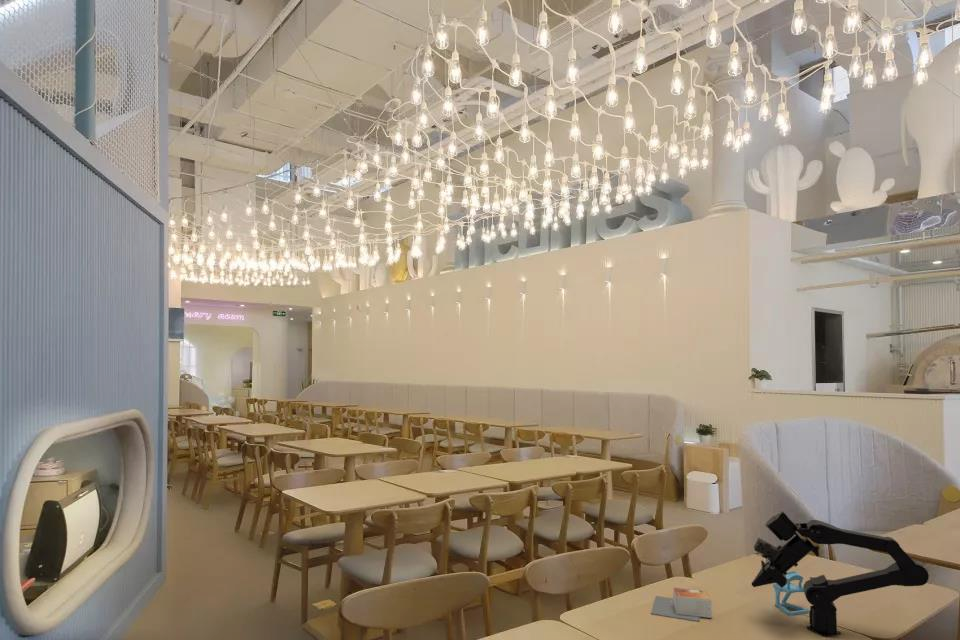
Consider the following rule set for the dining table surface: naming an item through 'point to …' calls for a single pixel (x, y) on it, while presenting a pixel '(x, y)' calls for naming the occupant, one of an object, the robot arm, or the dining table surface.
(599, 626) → the dining table surface
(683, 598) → the small box
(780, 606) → the chair
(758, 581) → the robot arm
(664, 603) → the mat
